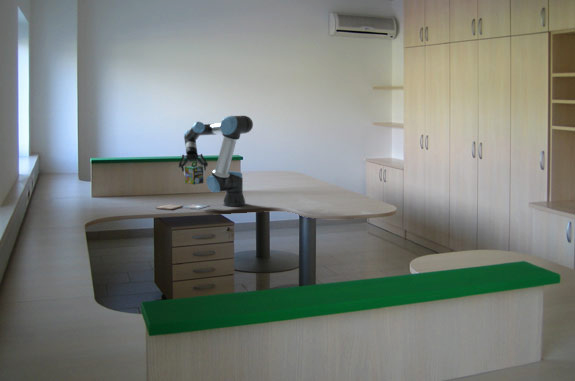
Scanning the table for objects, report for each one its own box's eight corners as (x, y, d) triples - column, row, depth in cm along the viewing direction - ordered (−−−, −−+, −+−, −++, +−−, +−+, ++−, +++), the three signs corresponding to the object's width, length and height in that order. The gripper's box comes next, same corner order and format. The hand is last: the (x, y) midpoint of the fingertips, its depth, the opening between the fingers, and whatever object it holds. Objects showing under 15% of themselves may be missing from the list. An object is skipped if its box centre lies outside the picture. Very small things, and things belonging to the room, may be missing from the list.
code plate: (209, 205, 435) (209, 205, 435) (198, 209, 423) (198, 208, 423) (192, 204, 441) (192, 204, 441) (180, 207, 429) (180, 207, 429)
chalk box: (194, 182, 436) (194, 160, 434) (204, 183, 430) (203, 161, 428) (184, 183, 429) (183, 161, 427) (193, 184, 423) (193, 162, 421)
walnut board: (183, 207, 432) (183, 205, 432) (172, 210, 420) (171, 208, 420) (167, 205, 437) (167, 204, 437) (155, 208, 426) (155, 207, 426)
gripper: (208, 152, 444) (212, 177, 432) (173, 153, 438) (175, 178, 426) (209, 145, 439) (213, 170, 426) (173, 146, 433) (176, 171, 420)
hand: (194, 174), depth 426 cm, fingers closed on chalk box, 12 cm apart
